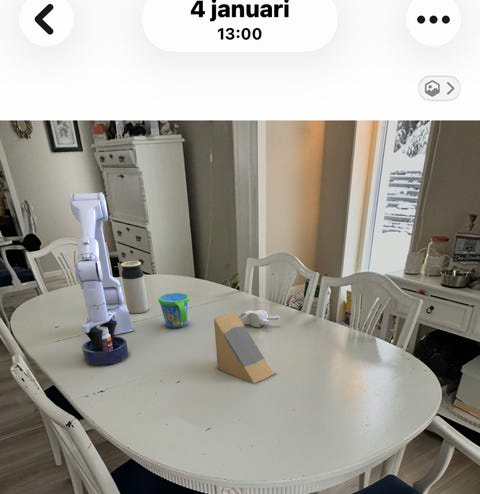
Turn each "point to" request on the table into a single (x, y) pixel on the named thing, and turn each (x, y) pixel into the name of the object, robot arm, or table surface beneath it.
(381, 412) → the table surface
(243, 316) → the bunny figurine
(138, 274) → the travel mug
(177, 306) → the snack cup
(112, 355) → the bowl
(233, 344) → the sandwich container
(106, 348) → the pill bottle
